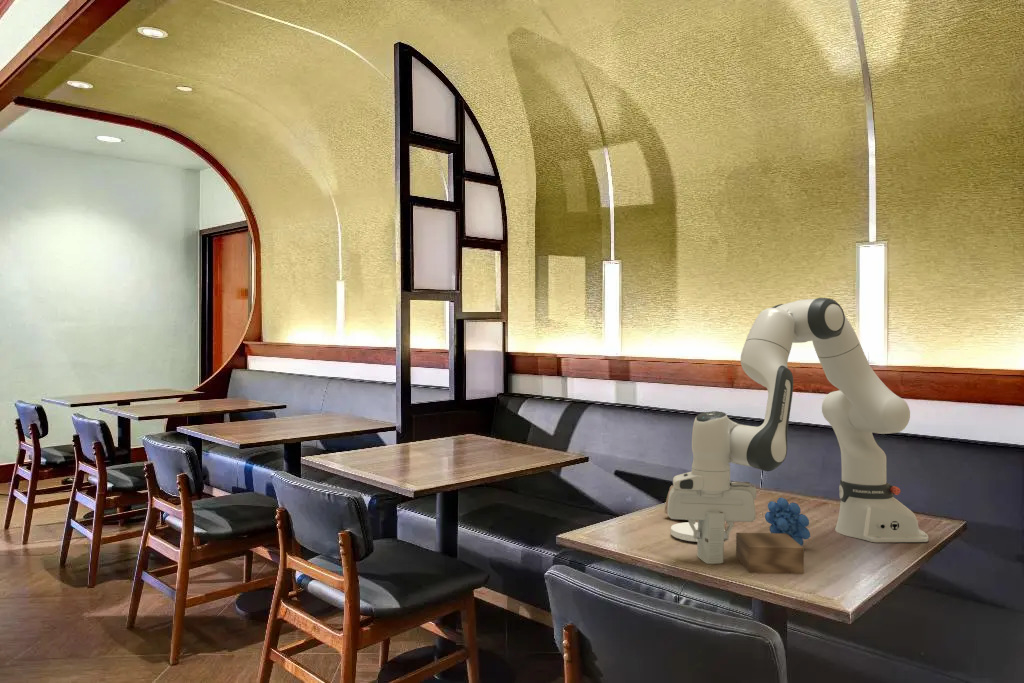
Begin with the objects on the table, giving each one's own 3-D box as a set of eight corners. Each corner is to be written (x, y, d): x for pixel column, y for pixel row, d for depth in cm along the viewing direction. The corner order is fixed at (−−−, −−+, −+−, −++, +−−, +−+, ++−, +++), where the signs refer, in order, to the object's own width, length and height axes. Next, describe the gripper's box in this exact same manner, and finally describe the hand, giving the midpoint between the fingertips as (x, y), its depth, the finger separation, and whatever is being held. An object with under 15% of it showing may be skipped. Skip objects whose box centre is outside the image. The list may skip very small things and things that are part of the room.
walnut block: (786, 558, 174) (786, 533, 174) (803, 574, 162) (803, 548, 162) (736, 557, 175) (736, 532, 175) (749, 573, 163) (749, 547, 163)
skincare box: (696, 556, 175) (696, 506, 174) (713, 555, 175) (713, 505, 175) (707, 564, 168) (707, 512, 168) (725, 563, 169) (725, 512, 169)
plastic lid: (660, 538, 191) (660, 529, 191) (688, 528, 202) (688, 519, 202) (708, 549, 182) (708, 539, 182) (734, 538, 192) (734, 528, 192)
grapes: (757, 544, 185) (757, 497, 185) (769, 539, 190) (769, 493, 190) (802, 553, 177) (802, 504, 177) (813, 548, 182) (813, 500, 182)
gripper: (754, 479, 173) (754, 537, 173) (667, 476, 177) (667, 533, 177) (758, 484, 167) (758, 544, 167) (668, 481, 170) (668, 540, 170)
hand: (710, 538), depth 172 cm, fingers closed on skincare box, 5 cm apart
